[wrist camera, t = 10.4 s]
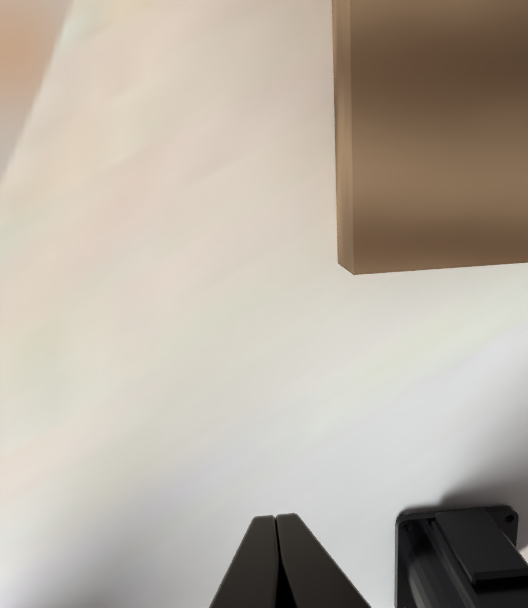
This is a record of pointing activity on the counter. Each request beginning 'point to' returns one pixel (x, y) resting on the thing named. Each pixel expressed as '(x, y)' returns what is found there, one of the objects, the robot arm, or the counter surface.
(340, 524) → the counter surface
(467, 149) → the walnut deck
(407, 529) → the robot arm
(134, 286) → the counter surface
